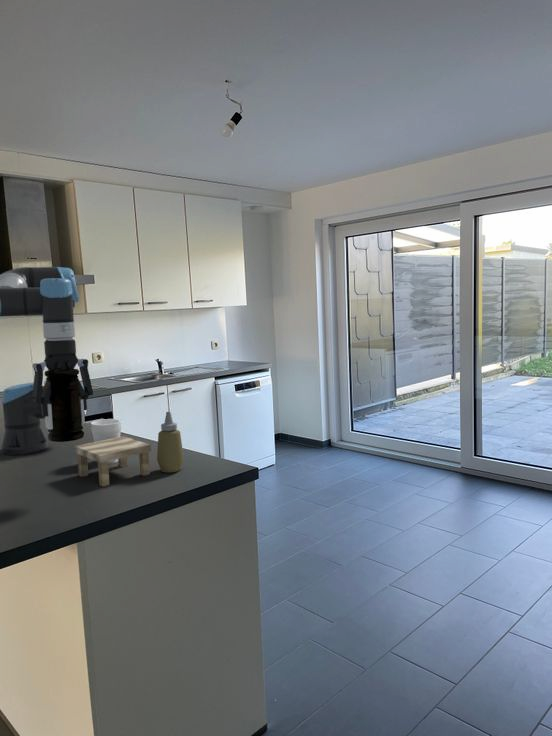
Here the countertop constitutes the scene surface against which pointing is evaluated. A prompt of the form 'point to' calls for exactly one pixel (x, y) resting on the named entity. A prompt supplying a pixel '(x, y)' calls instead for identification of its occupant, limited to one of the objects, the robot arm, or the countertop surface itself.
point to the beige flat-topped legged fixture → (112, 455)
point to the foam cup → (106, 430)
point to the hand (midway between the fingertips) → (65, 425)
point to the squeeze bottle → (169, 446)
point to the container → (64, 406)
